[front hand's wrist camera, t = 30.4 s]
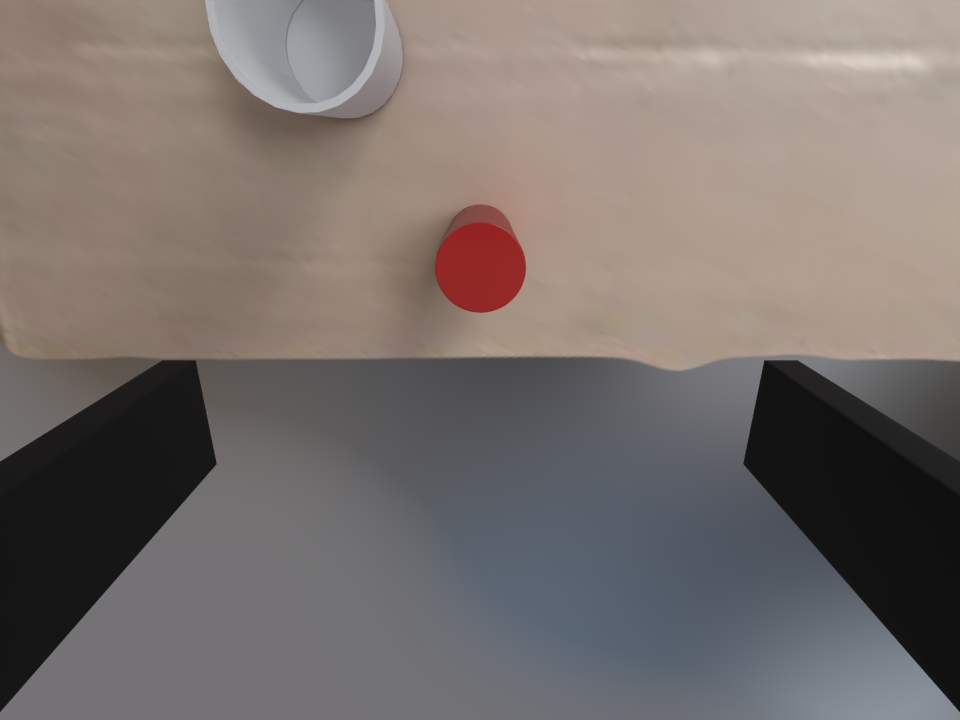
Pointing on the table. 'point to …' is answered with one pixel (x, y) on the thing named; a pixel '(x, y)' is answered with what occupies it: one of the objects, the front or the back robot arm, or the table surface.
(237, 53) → the mug
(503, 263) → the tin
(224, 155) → the table surface
